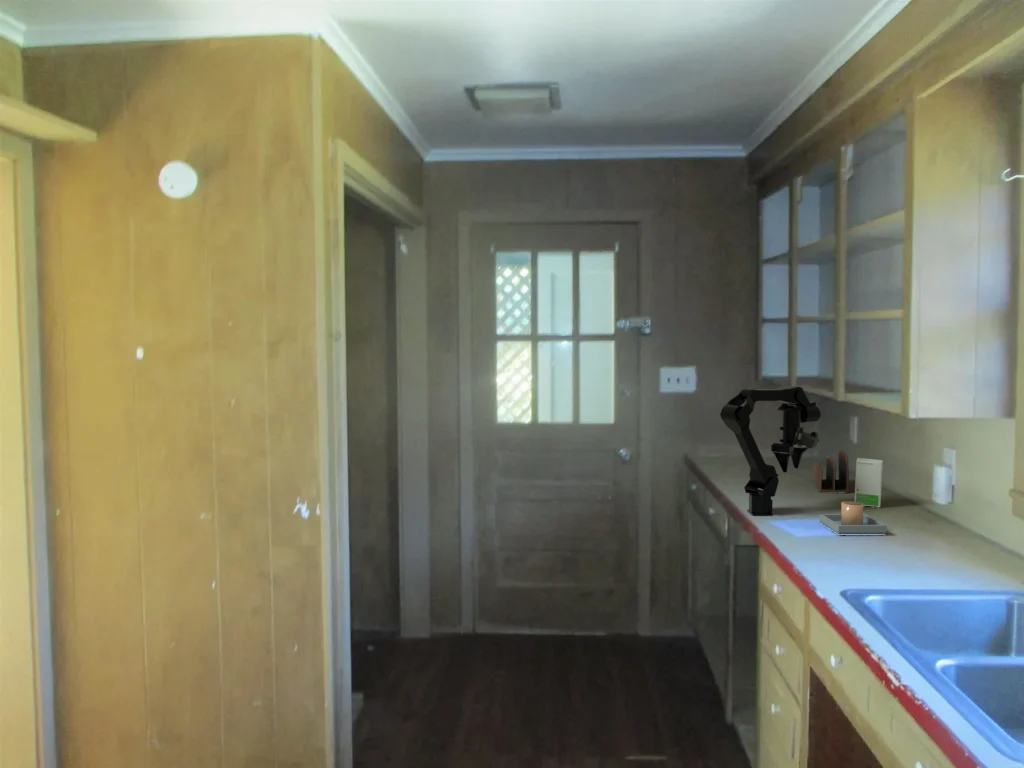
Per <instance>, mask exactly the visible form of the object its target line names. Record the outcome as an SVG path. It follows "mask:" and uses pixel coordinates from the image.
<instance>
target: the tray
mask: <svg viewBox="0 0 1024 768" xmlns="http://www.w3.org/2000/svg"><path fill="white" fill-rule="evenodd" d="M819 522H820V523H822V524H823V525H825V526H826V527H828V528H830V529H831V530H833V531H834V532H836V533H837V534H886V535H887V530H888V527H887V526H888V525H886V524H885V523H883V522H881V521H879V520H877V519H876V518H874V517H872V516H870V515H868V514H866V513H863V525H841V513H830V514H829V513H828V514H827V513H825V514H823V513H821V514H819ZM819 522H818V523H819Z"/></svg>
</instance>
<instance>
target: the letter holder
mask: <svg viewBox="0 0 1024 768" xmlns="http://www.w3.org/2000/svg"><path fill="white" fill-rule="evenodd" d="M837 453H838V454H837V455H838V456H837V457H838V463H837V464H838V465H837V466H838V479H836V478H837V477H836V464H835V462H834V459H832V457H830V456H826V458H825V460H826V461H825V467H826V468H825V478H823V469H822V467H821V465H820V464H819V463H817V462H816V461H815V462H814V465H813V478H812V479H813V480H812V481H813V483H814V484H815V487H816V488H817V489H818V491H819V493H823V492H845V493H844V494H850V471H849V456H848V455H847V453H846V452H845V451H844V450H842V449H838V452H837Z"/></svg>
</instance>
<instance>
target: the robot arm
mask: <svg viewBox="0 0 1024 768" xmlns="http://www.w3.org/2000/svg"><path fill="white" fill-rule="evenodd" d="M771 401H772V402H775V401H776V402H781V405H780V406H778V408H777V411H782V426H779V431H781V432H782V433H781V438H779V441H776V442H773V443H772V444H770V452H772V453H773V455H774V456H775V458H776V459H777V461H778V464H779V466H780V468H781V471H782V473H787V472H788V469H789V461H790V458H791V461H792V465H793V468H794V469H799V466H800V464H801V460H802V457H803V454H804V453H805V452H806V451H807V450H809V449H813V448H816V447H817V444H818V443H819V442H820V437H819V432H816V431H811V433H809V432H805V431H804V429H805V428H804V427H803V426H802V425H801V423H802V424H803V423H805V424H806V423H814V422H818V421H819V420H820V419H821V411H820V408H819V407H818V406H817V404H816V403H817V402H816V401H809V399H808V396H807V395H806V393H805V391H804V388H803V387H801V386H793V385H782V386H778V387H777V388H773V389H772V388H765V389H764V388H763V389H758V388H757V389H756V388H755V389H754V388H743V389H742V390H741V391H740V392H739V393H737V395H736V396H734V397H733V398H731V399H729V400H728V402H727V403H726V404H725V405H723V407H722V408H721V411H720V413H719V415H720V418H721V420H722V422H723V423H724V425H725V426H726V427H727V428H728V429H729V430H730V431H732V432H733V434H734V436H735V437H736V440H737V442H738V444H739V447H740V448H741V450H742V453H743V455H744V456H745V459H746V461H747V463H748V466H749V469H750V470H749V474H748V477H749V480H748V482H747V483H746V484H745V485H744V491H745V493H746V494H748V509H746V511H747V512H748V513H749V514H750V515H752V516H773V504H774V503H773V499H772V498H773V497H775V496H776V492H777V489H778V486H779V483H780V482H779V481H780V480H779V475H780V474H778V472H777V471H776V470H777V469H776V467H775V466H774V465H772V464H767V463H766V462H765V460H764V458H763V455H762V454H761V451H760V448H759V446H758V444H757V442H756V440H755V438H754V435H753V433H752V431H751V429H750V423H751V418H750V416H751V414H752V413H753V411H754V408H755V404H756V402H771ZM742 405H743V406H742Z"/></svg>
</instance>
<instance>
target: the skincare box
mask: <svg viewBox="0 0 1024 768" xmlns="http://www.w3.org/2000/svg"><path fill="white" fill-rule="evenodd" d="M855 466H856V467H855V481H854V483H855V484H854V500H853V501H855V502H861V503H863V507H865V506H877V507H880V508H881V504H882V503H881V502H882V492H883V491H882V489H883V472H884V471H883V470H884V460H883V459H882V460H881V459H876V458H875V459H874V458H863V457H857V459H856V463H855Z"/></svg>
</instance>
